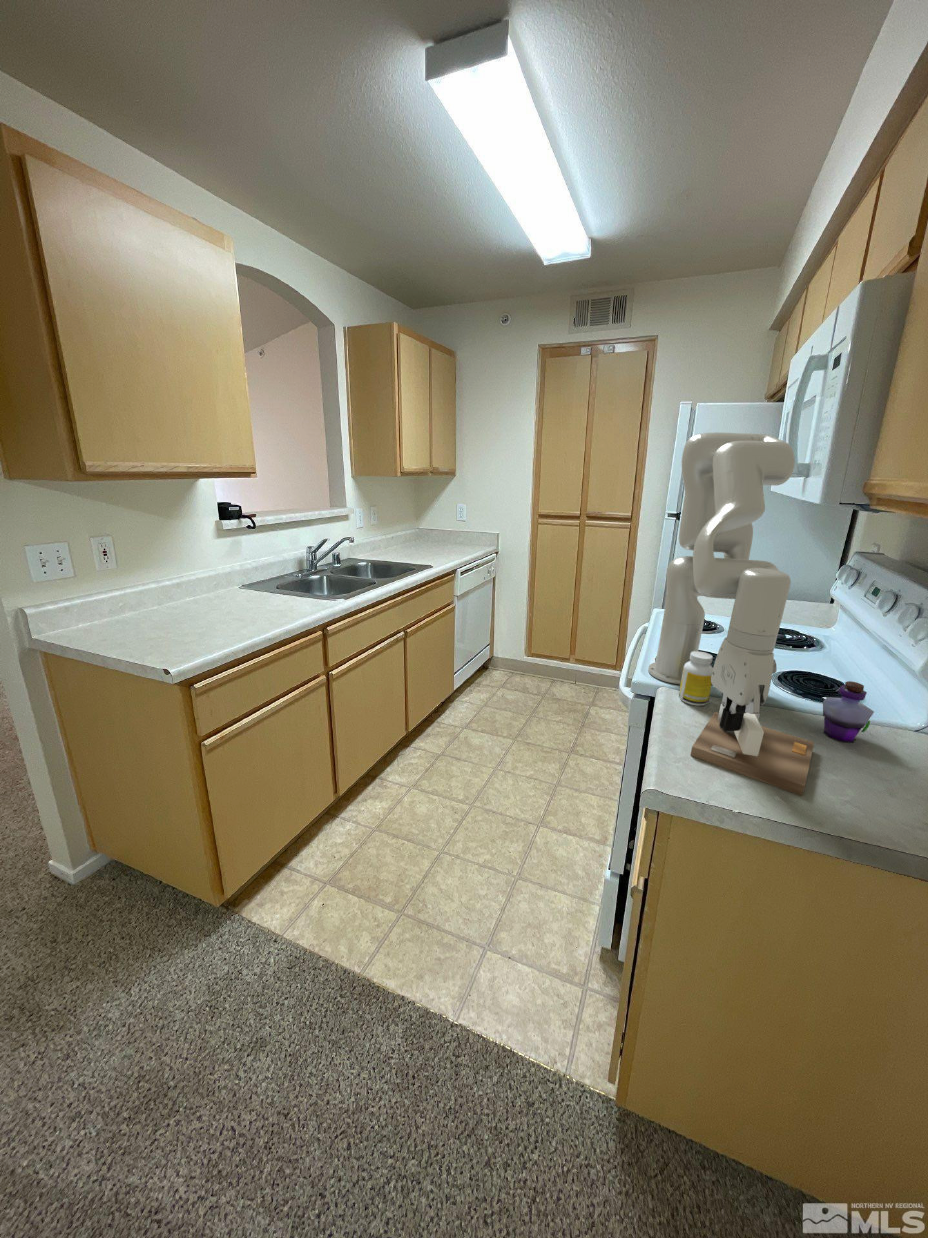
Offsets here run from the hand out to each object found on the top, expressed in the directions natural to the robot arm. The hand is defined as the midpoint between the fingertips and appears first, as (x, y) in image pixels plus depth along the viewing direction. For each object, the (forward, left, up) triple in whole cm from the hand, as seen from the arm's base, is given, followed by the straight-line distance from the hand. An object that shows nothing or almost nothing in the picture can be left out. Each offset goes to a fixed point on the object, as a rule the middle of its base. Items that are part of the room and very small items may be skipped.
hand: (729, 728), depth 92 cm
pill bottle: (-20, -11, -6) cm, 23 cm away
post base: (-4, +4, -6) cm, 8 cm away
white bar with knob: (-4, +2, -2) cm, 5 cm away
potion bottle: (-24, +17, -6) cm, 30 cm away
